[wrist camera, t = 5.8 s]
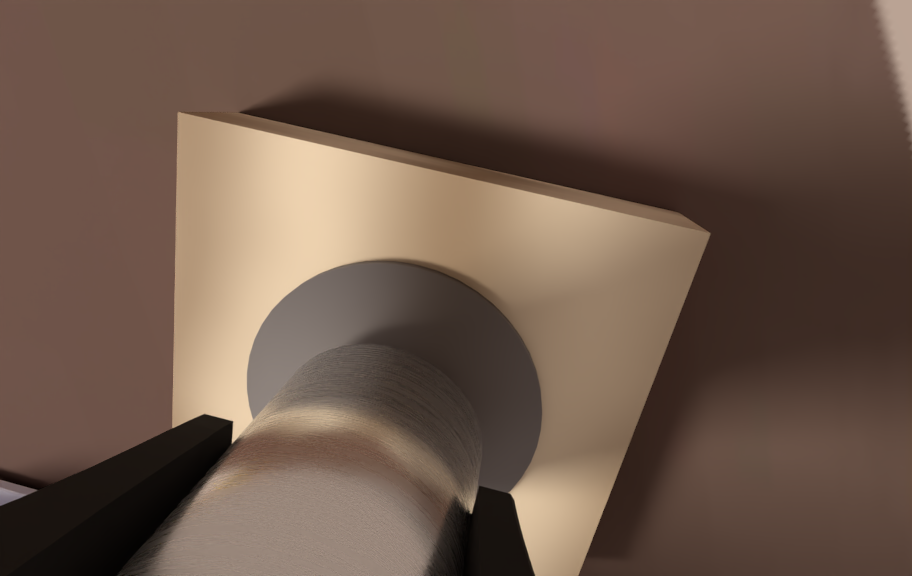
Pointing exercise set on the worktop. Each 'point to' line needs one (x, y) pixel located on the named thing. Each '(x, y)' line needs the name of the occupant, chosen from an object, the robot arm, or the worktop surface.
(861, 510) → the worktop surface
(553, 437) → the stand
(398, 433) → the cylinder
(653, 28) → the worktop surface
